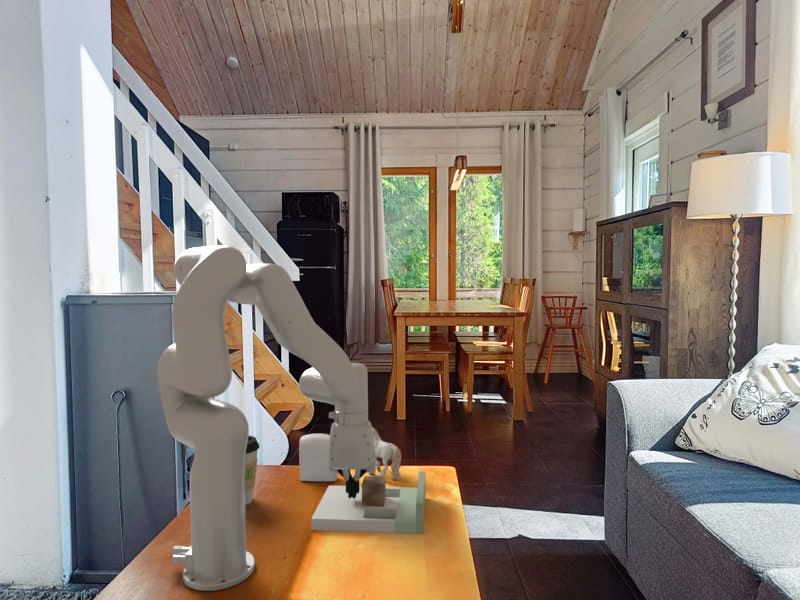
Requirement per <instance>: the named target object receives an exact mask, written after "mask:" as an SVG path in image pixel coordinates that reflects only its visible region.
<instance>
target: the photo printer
mask: <svg viewBox="0 0 800 600" xmlns="http://www.w3.org/2000/svg"><path fill="white" fill-rule="evenodd" d="M329 442H330V434H328V433H310V434H305V435H302V436H301V437H300V438H299V442H298V443H299V444H298V447H299V448H298V450H299V451H298V453H299V455H298V456H299V480H300V481H303V482H336V481H337V480H338V478H339V475H338V474H339V473H338V472H333V471H330V470H329Z"/></svg>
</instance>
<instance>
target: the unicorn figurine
mask: <svg viewBox="0 0 800 600" xmlns="http://www.w3.org/2000/svg"><path fill="white" fill-rule="evenodd" d="M372 431H373V439H374V453H375V457H374V463H375V466H376V469H375V471H373V472H369V473H368V475H369V476H372V474H373V475H374V476H376V470H377V471H378V472H380V473H379V476H385V477H386V473H387V472H386V471H388V469H389V466H388V465H389V463H388V462H389V460H391V461H392V463H391V465H390V469H391V472H390V473H391V476H392V477H391V480H392V481H395V480H397V481H398V480H402V477H401V473H400V469H401V461H402V452H401V450H400V449H399V447H398V446H397V445H395V444H393V443H391V442H386V441H384V440H382V438H381V436H380V435H379V433H378V431H377V429H376V428H374V427H373V426H372ZM378 458H381V459H382V464H383V469H381V468H382V466H381V461H379V460H378Z"/></svg>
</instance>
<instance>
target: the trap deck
mask: <svg viewBox="0 0 800 600" xmlns="http://www.w3.org/2000/svg"><path fill="white" fill-rule="evenodd" d="M425 509H426V471H419V472H418V480H417V487H406V486H405V487H403V486H402V487H399V486H386V499H385V504H384V507H375V506H362V485H361V486H360V490H359V493H357V495H356V498H348V493H346V485H331V484H330V485H328V486H327V487H326V490H325V492H324V494H323V496H322V498H321V499H320V501H319V503H318V505H317V507H316V509H315V510H314V513H313V514H312V517H311V519H310V520H311V522H310V523H311V524H310V529H311V531H330V532H333V531H335V532H356V531H357V533H359V532H362V533H363V532H364V533H388V534H389V533H391V534H394V533H396V534H420V535H421V534H422V535H423V534H424V524H425V523H424V522H425V511H426V510H425Z"/></svg>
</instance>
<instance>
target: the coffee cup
mask: <svg viewBox="0 0 800 600" xmlns="http://www.w3.org/2000/svg"><path fill="white" fill-rule="evenodd" d="M259 449H260V444H259V442H258V441H257V437H255V436H253V435H248V442H247V447H246V454H245V469H244V474H245V505H246V506H247V504H248V505H249V503H250V504H251V503H252V502H253V500H254V489H255V484H256V476H257V475H256V474H257V467H258V450H259Z"/></svg>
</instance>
